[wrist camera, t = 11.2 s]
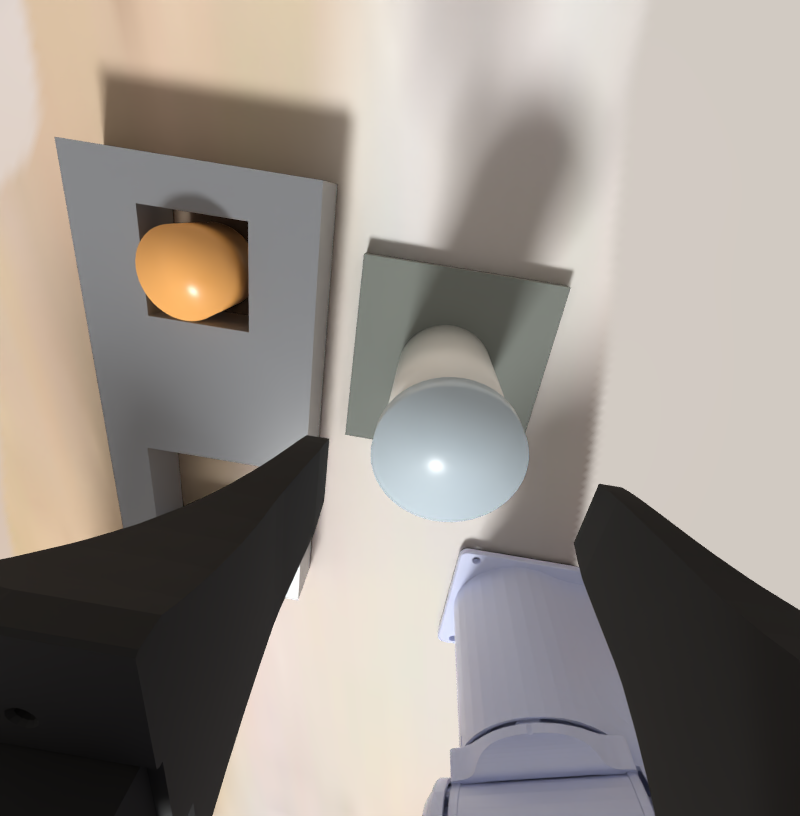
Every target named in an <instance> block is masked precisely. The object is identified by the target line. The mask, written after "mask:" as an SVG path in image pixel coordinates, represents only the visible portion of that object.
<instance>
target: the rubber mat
mask: <svg viewBox="0 0 800 816" xmlns="http://www.w3.org/2000/svg"><path fill="white" fill-rule="evenodd" d="M569 291H570V287H568V286H566V285H560V284H554V283H548V282H542V281H536V280H530V279H524V278H517V277H511V276H505V275H499V274H493V273H487V272H481V271H475V270H468V269H462V268H456V267H450V266H444V265H438V264H432V263H426V262H419V261H413V260H407V259H401V258H395V257H389V256H383V255H377V254H370V253H365V254H364V260H363V269H362V279H361V289H360V298H359V308H358V318H357V327H356V337H355V347H354V356H353V366H352V376H351V385H350V395H349V405H348V414H347V424H346V433H345V435H350V436H356V437H362V438H368V439H373V437H374V434H375V430H376V426H377V423H378V421H379V418H380V416H381V414H382V413H383V411H384V409H385V408H386V407H387V405H388V403H389V399H390V395H391V391H392V387H393V383H394V379H395V375H396V370H397V366H398V362H399V358H400V355H401V353H402V350H403V349H404V347H405V345H406V344H407V343H408V341H409V340H410V339H411V338H412V337H413V336H415V335H416V334H417V333H419V332H421V331H422V330H425V329H427V328H429V327H433V326H438V325H452V326H457V327H461V328H463V329H466V330H467V331H469V332H471V333H472V334H474V335H475V336H476V337H477V338H478V339H479V340H480V341H481V342H482V343H483V345H484V346H485V348H486V350H487V352H488V355H489V357H490V360H491V363H492V366H493V368H494V371H495V374H496V376H497V379H498V382H499V384H500V387H501V390H502V393H503V395H504V398H505V399H506V400H507V401H508V402H509V403H510V405H511V406H512V407H513V408H514V410H515V412H516V413H517V415H518V417H519V419H520V422H521V424H522V427H523V429H524V432H526V429H527V425H528V422H529V419H530V416H531V413H532V409H533V406H534V403H535V400H536V397H537V394H538V390H539V387H540V384H541V381H542V378H543V374H544V371H545V368H546V365H547V362H548V358H549V355H550V352H551V349H552V346H553V342H554V339H555V336H556V333H557V330H558V327H559V323H560V320H561V317H562V314H563V311H564V307H565V304H566V301H567V298H568V295H569Z"/></svg>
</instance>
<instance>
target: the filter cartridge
mask: <svg viewBox="0 0 800 816" xmlns="http://www.w3.org/2000/svg"><path fill="white" fill-rule="evenodd" d="M528 462H529V446H528V441H527V437H526V435H525V432H524V429H523V427H522V424H521V422H520V419H519V417H518V415H517V413H516V412H515V410H514V408H513V407H512V406H511V405H510V403H509V402H508V401H507V400H506V399H505V398H504V395H503V393H502V390H501V387H500V384H499V382H498V379H497V376H496V374H495V371H494V368H493V366H492V363H491V360H490V357H489V355H488V352H487V350H486V348H485V346H484V345H483V343H482V342H481V341H480V340H479V339H478V338H477V337H476V336H475V335H474V334H472V333H471V332H469V331H467V330H466V329H463V328H461V327H457V326H452V325H438V326H433V327H429V328H427V329H425V330H422V331H421V332H419V333H417V334H416V335H415V336H413V337H412V338H411V339H410V340H409V341H408V343H407V344H406V345H405V347H404V349H403V350H402V353H401V355H400V358H399V362H398V366H397V370H396V375H395V379H394V383H393V387H392V391H391V395H390V399H389V403H388V405H387V407H386V408H385V409H384V411H383V413H382V414H381V416H380V418H379V421H378V423H377V426H376V430H375V434H374V437H373V441H372V446H371V464H372V468H373V472H374V475H375V477H376V480H377V482H378V483H379V485H380V487H381V488H382V490H383V491H384V492H385V494H386V495H387V496H388V497H389V498H390V499H391V500H392V501H393V502H394V503H396V504H397V505H398V506H399V507H401V508H403V509H404V510H406V511H407V512H410V513H412V514H414V515H416V516H419V517H422V518H425V519H429V520H433V521H441V522H458V521H466V520H471V519H475V518H478V517H481V516H483V515H486V514H488V513H490V512H492V511H494V510H496V509H497V508H499V507H500V506H501V505H503V504H504V503H505V502H507V501H508V500H509V499H510V498H511V497H512V496H513V494H514V493H515V492H516V491H517V490H518V488H519V486H520V485H521V483H522V481H523V479H524V477H525V474H526V471H527V467H528Z"/></svg>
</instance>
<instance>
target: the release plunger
mask: <svg viewBox="0 0 800 816" xmlns="http://www.w3.org/2000/svg"><path fill="white" fill-rule="evenodd" d="M135 264H136V272H137V276H138V279H139V282H140V284H141V286H142V288H143V290H144V292H145V293H146V295H147V296H148V298H149V299H150V300H151V301H152V302H153V303H154V304H155V305H156V306H157V307H158V308H159V309H161V310H162V311H163V312H165V313H166V314H168V315H170V316H172V317H174V318H177V319H181V320H185V321H199V320H203V319H206V318H208V317H210V316H213V315H215V314H217V313H219V312H221V311H223V310H225V309H228V308H230V307H232V306H234V305H236V304H238V303H240V302H242V301H244V300H245V299H246V298H247V297H248V296H249V272H248V243H247V241H246V240H245V239H244V238H243V237H242V236H241V235H240V234H239V233H238V232H237V231H235V230H234V229H232V228H231V227H229V226H227V225H224V224H222V223H217V222H195V223H174V224H163V225H159V226H156V227H154V228H152V229H151V230H149V231H148V232H147V233H146V234H145V235H144V236H143V238H142V239H141V241H140V242H139V245H138V247H137V251H136V258H135Z"/></svg>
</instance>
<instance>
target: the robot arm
mask: <svg viewBox="0 0 800 816" xmlns="http://www.w3.org/2000/svg"><path fill="white" fill-rule="evenodd" d="M328 447H329V439H327V438H321V437H315V436H309V435H306V436H304V437H303V438H301V439H300V440H298V441H297V442H295V443H294V444H293V445H291V446H290V447H288V448H287V449H285V450H284V451H282V452H281V453H280V454H278V455H277V456H275V457H274V458H272V459H271V460H269V461H268V462H266V463H265V464H263V465H261V466H260V467H258V468H257V469H255V470H254V471H252V472H250V473H248V474H247V475H245V476H243V477H241V478H240V479H238V480H236V481H235V482H233V483H231V484H229V485H228V486H226V487H224V488H222V489H220V490H218V491H216V492H214V493H212V494H210V495H208V496H206V497H204V498H201V499H199V500H197V501H195V502H193V503H190V504H188V505H186V506H183V507H181V508H178V509H176V510H173V511H171V512H168V513H165V514H163V515H160V516H157V517H155V518H152V519H149V520H147V521H144V522H142V523H139V524H136V525H133V526H130V527H126V528H123V529H120V530H117V531H114V532H111V533H107V534H104V535H100V536H97V537H93V538H90V539H86V540H83V541H79V542H75V543H71V544H67V545H63V546H59V547H54V548H50V549H46V550H41V551H37V552H33V553H28V554H24V555H20V556H15V557H11V558H6V559H1V560H0V816H212V815H213V812H214V808H215V805H216V802H217V798H218V795H219V792H220V789H221V785H222V782H223V779H224V775H225V772H226V769H227V765H228V762H229V759H230V756H231V753H232V750H233V746H234V743H235V740H236V737H237V734H238V730H239V727H240V724H241V721H242V718H243V715H244V711H245V708H246V705H247V702H248V699H249V696H250V693H251V690H252V687H253V684H254V681H255V678H256V675H257V672H258V669H259V666H260V663H261V660H262V657H263V654H264V651H265V648H266V645H267V642H268V639H269V636H270V634H271V631H272V628H273V625H274V622H275V620H276V617H277V615H278V612H279V610H280V608H281V605H282V603H283V601H284V599H285V596H286V594H287V592H288V590H289V588H290V585H291V583H292V581H293V579H294V577H295V574H296V572H297V570H298V568H299V566H300V563H301V561H302V559H303V557H304V555H305V552H306V550H307V548H308V546H309V543H310V541H311V539H312V537H313V534H314V532H315V528H316V525H317V522H318V519H319V516H320V512H321V509H322V506H323V502H324V494H325V483H326V471H327V459H328ZM574 546H575V550H576V555H577V560H578V564H579V567H576V566H570V565H564V564H558V563H552V562H546V561H540V560H535V559H529V558H523V557H517V556H511V555H505V554H499V553H493V552H487V551H481V550H475V549H463V550H462V551H460V553H459V557H458V560H457V564H456V567H455V571H454V575H453V578H452V582H451V586H450V589H449V593H448V597H447V600H446V604H445V607H444V611H443V615H442V618H441V622H440V626H439V629H438V638H439V639H440V640H441V641H444V642H449V643H455V656H456V678H457V700H458V722H459V745H460V748H453V749H451V750H450V765H451V778H440V779H438V780H437V781H436V783H435V785H434V787H433V789H432V792H431V794H430V795H429V797H428V799H427V801H426V803H425V806H424V810H423V815H422V816H800V610H798V609H797V608H795V607H794V606H792V605H790V604H789V603H787V602H786V601H784V600H782V599H780V598H779V597H777V596H776V595H774V594H773V593H771V592H769V591H768V590H766V589H765V588H763V587H761V586H760V585H758V584H757V583H755V582H754V581H752V580H750V579H749V578H747V577H746V576H745V575H743V574H742V573H740V572H739V571H737V570H736V569H734V568H733V567H732V566H730V565H728V564H727V563H726V562H724V561H723V560H722V559H720V558H719V557H717V556H716V555H714V554H713V553H712V552H710V551H709V550H707V549H706V548H705V547H703V546H702V545H701V544H699V543H698V542H696V541H695V540H694V539H692V538H691V537H690V536H688V535H687V534H686V533H684V532H683V531H682V530H680V529H679V528H678V527H676V526H675V525H674V524H672V523H671V522H670V521H669V520H667V519H666V518H664V517H663V516H662V515H661V514H659V513H658V512H657V511H655V510H654V509H653V508H651V507H650V506H648V505H647V504H646V503H644V502H643V501H642V500H640V499H639V498H638V497H636V496H635V495H633V494H631V493H630V492H629V491H627V490H625V489H623V488H621V487H615V486H609V485H603V484H599V485H598V488H597V490H596V492H595V495H594V497H593V499H592V502H591V504H590V506H589V509H588V511H587V513H586V516H585V518H584V520H583V523H582V525H581V528H580V530H579V532H578V535H577V537H576V539H575V542H574ZM474 557H478V559H474Z"/></svg>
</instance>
